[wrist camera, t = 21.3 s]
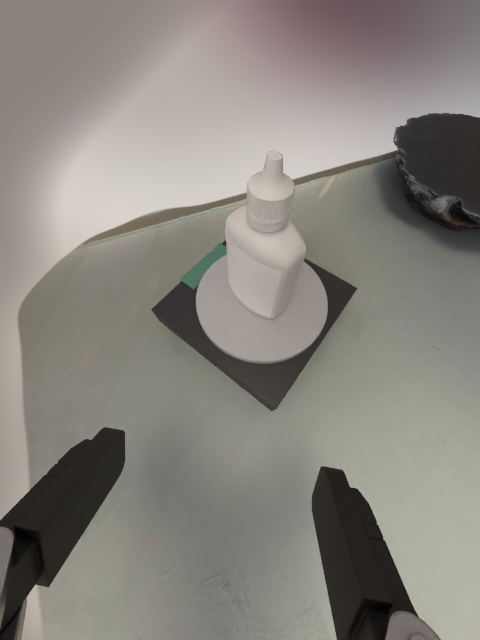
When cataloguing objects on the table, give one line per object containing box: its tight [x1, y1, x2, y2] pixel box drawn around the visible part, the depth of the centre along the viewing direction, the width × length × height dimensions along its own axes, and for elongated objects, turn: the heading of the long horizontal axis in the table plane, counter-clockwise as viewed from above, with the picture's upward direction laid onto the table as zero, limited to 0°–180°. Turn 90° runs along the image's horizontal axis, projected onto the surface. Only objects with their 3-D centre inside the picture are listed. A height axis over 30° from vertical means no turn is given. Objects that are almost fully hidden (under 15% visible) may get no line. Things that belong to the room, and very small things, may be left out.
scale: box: [152, 241, 357, 411], centre depth 23 cm, size 14×14×3 cm
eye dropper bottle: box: [226, 151, 306, 319], centre depth 16 cm, size 4×6×12 cm
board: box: [394, 113, 480, 231], centre depth 29 cm, size 22×22×5 cm
